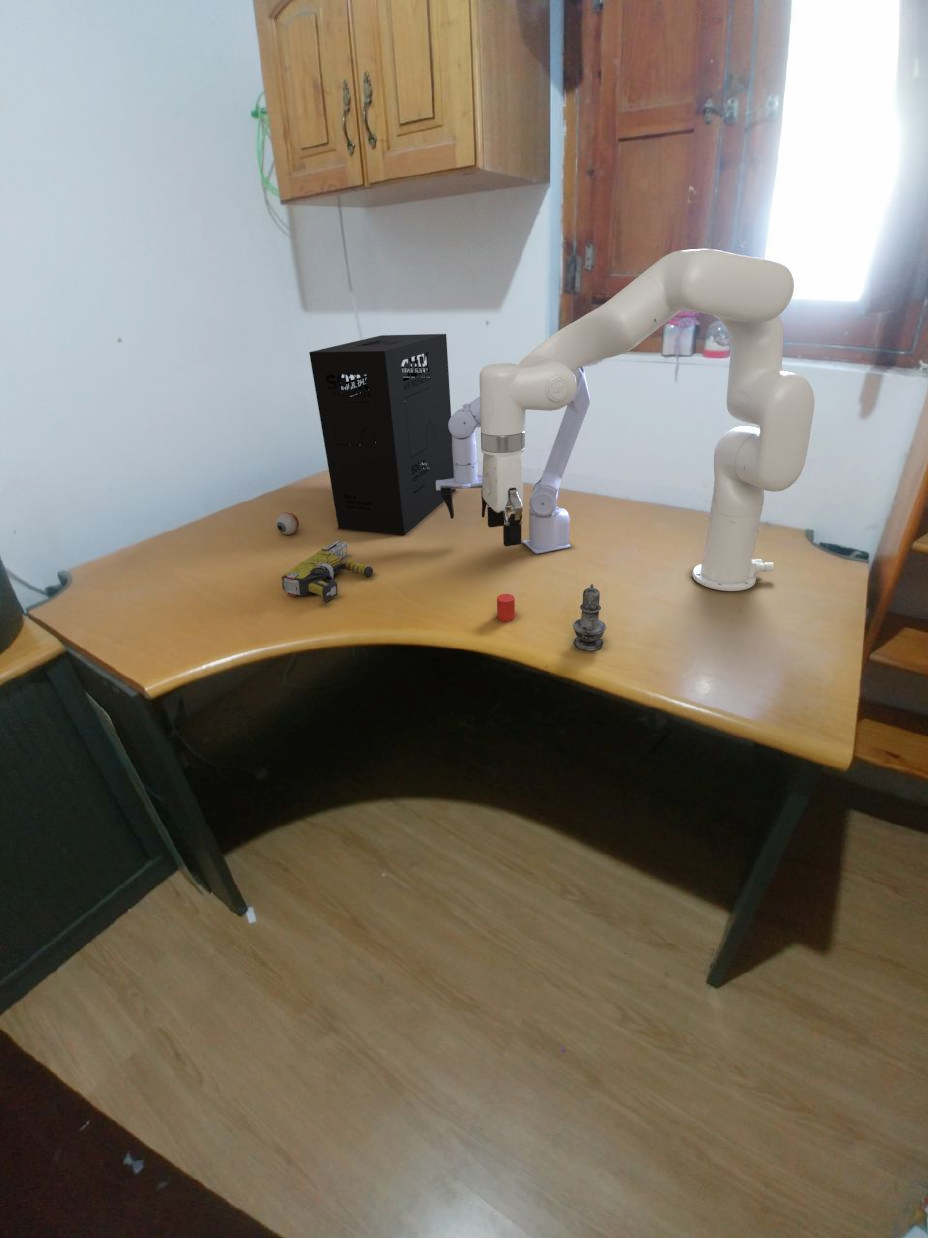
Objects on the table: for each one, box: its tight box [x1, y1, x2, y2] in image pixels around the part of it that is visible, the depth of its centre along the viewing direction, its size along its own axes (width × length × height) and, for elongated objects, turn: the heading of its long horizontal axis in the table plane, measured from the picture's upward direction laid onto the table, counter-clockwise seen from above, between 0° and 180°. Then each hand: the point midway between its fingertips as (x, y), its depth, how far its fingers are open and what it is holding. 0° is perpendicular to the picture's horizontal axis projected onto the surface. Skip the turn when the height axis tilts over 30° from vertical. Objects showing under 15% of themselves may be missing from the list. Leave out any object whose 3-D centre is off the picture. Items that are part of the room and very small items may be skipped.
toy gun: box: [281, 539, 374, 603], centre depth 138 cm, size 5×24×15 cm
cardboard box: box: [308, 333, 457, 536], centre depth 167 cm, size 38×20×45 cm, turn 160°
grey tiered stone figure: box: [572, 583, 607, 652], centre depth 107 cm, size 6×6×12 cm
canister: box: [496, 593, 516, 622], centre depth 119 cm, size 4×4×4 cm
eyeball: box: [275, 511, 300, 536], centre depth 163 cm, size 6×6×6 cm
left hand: (467, 516), depth 150 cm, fingers open, 7 cm apart
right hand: (503, 535), depth 112 cm, fingers open, 9 cm apart
